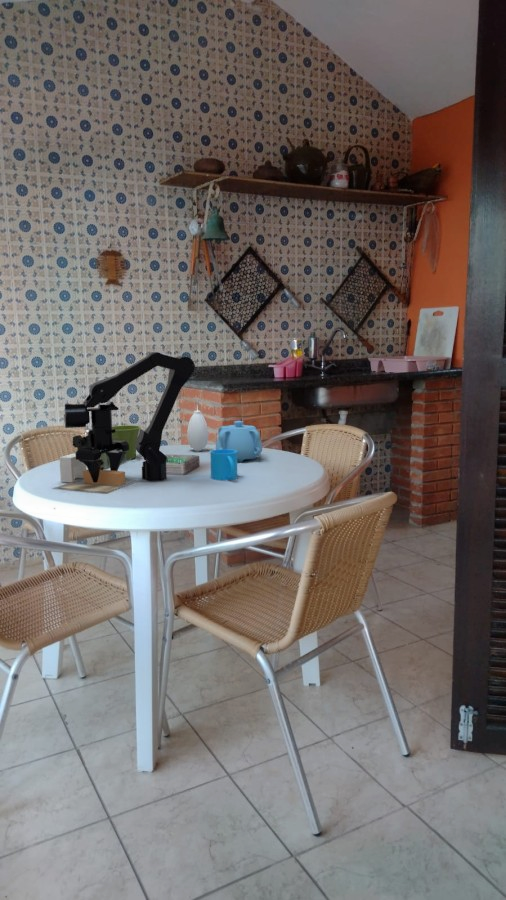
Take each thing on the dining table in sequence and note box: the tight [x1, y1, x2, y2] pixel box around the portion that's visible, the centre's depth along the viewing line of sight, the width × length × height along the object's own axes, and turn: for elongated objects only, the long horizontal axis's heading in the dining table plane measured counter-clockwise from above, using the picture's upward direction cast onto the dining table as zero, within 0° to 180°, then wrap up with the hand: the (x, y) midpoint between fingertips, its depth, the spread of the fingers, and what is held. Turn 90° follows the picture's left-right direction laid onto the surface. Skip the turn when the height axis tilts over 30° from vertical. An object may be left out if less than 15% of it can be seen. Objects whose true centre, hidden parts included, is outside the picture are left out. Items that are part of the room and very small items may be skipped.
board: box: [52, 478, 141, 495], centre depth 187 cm, size 18×18×1 cm
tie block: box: [59, 452, 87, 483], centre depth 192 cm, size 4×7×7 cm, turn 158°
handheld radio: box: [100, 451, 128, 470], centre depth 215 cm, size 7×3×25 cm
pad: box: [58, 482, 120, 494], centre depth 182 cm, size 16×6×1 cm, turn 68°
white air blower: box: [186, 403, 209, 452], centre depth 245 cm, size 8×8×18 cm
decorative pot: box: [215, 420, 263, 463], centre depth 229 cm, size 16×16×14 cm
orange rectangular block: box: [83, 469, 126, 486], centre depth 188 cm, size 12×4×4 cm, turn 68°
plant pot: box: [112, 424, 141, 461], centre depth 231 cm, size 12×12×11 cm
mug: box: [210, 449, 238, 481], centre depth 198 cm, size 12×8×8 cm
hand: (104, 479), depth 189 cm, fingers open, 9 cm apart
